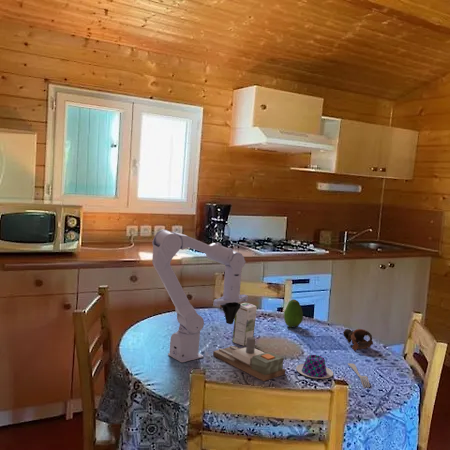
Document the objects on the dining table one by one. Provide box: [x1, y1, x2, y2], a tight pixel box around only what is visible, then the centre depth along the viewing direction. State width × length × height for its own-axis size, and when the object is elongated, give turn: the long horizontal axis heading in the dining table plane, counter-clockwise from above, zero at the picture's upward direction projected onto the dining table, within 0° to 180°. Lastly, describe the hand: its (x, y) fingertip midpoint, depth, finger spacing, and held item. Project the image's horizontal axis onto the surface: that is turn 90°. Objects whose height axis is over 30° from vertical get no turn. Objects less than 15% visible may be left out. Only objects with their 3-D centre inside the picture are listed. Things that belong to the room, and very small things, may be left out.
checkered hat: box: [295, 354, 334, 380], centre depth 161 cm, size 12×12×5 cm
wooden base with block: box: [212, 345, 286, 382], centre depth 162 cm, size 10×24×6 cm, turn 42°
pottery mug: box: [342, 328, 374, 352], centre depth 188 cm, size 12×10×8 cm
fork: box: [347, 362, 371, 388], centre depth 161 cm, size 3×21×3 cm, turn 0°
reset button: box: [261, 354, 275, 360], centre depth 156 cm, size 3×3×3 cm
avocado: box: [283, 298, 304, 328], centre depth 206 cm, size 8×8×12 cm
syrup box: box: [231, 302, 258, 347], centre depth 182 cm, size 6×6×14 cm
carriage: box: [233, 337, 265, 365], centre depth 162 cm, size 8×8×7 cm
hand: (229, 323), depth 171 cm, fingers closed
